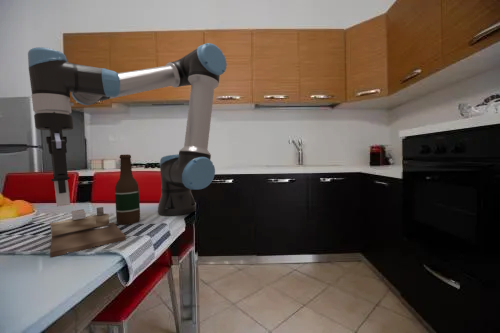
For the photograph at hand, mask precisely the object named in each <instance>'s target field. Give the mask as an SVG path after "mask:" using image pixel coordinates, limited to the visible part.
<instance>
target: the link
mask: <svg viewBox="0 0 500 333" xmlns="http://www.w3.org/2000/svg"><path fill="white" fill-rule="evenodd" d="M109 216H110V215H109V213H104V206H101V207H96V214H94V215H90V216H89V215H88V216H86V218H83V219H76V220H73V219H71V218H70V219H67V220H61V221H55V222H50V223H49V224H50V234H51V237H52V236H54V235H59V234H64V233H69V232H74V231H78V230H83V229H88V228H93V227H100V226H105V225H108V224H109V223H110V219H109V218H110V217H109Z"/></svg>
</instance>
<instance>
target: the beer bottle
mask: <svg viewBox="0 0 500 333" xmlns="http://www.w3.org/2000/svg"><path fill="white" fill-rule="evenodd" d="M118 158H119V160H120V164H119V167H120V168H119V170H120V171H119V172H120V173H119V179H118V180H117V182H116V184H115V187H114V188H115V189H114V199H115V214H116V216H115V218H116V224H117V225H119V226H120V225H121V226H128V225H133V224H137V223H139V222H140V221H141V207H140V206H141V204H140V189H139V188H140V187H139V183H138V182H137V180H136V179H135V178H134V175H133V170H132V162H131V161H132V159H131V158H132V155H131V154H120V155H119V157H118Z"/></svg>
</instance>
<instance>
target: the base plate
mask: <svg viewBox="0 0 500 333" xmlns="http://www.w3.org/2000/svg"><path fill="white" fill-rule="evenodd" d="M109 224H110V227H108V228H105V229H99V230H93V229H92V228H88V229H83V230H78V231H74V232H69V233H64V234H59V235H54V236H52V235H51V240H50V250H49V254H50V258H53V257H57V256H58V257H59V256H62V255H67V254H68V253H67V252H72V253H74V252H73V251H76V252H80V250H81V251H85V250H89V249H92V248H91V247H94V248H96V247H95V246H98V247H101V246H100V245H103V246H105V245H104V244H107V245H110V244H109V243H112V244H115V243H114V242H116V243H119V242H118V241H120V242H124V240H125V241H126V234H124V232H123V231H121V229H120V228H119V227H118V226H117V225H116V223H115V222H114V221H113V222H109ZM66 253H67V254H66Z"/></svg>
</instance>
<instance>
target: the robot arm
mask: <svg viewBox="0 0 500 333" xmlns="http://www.w3.org/2000/svg"><path fill="white" fill-rule="evenodd" d="M226 59H227V58H226V56H225V55H224V53H223V51H222V50H221V48H219V47H218V46H217V45H216V44H214V43H211V42H206V43H204V44H201V45H199V46H197V48H195V49H193V50H191V52H189V53H187V54H186V55H183V57H181V58H179V59H177V60H175V61H170V62H167V63H166V64H165V65H162V66H156V67H149V68H144V69H143V68H142V69H137V70H131V71H122V72H116V71H114V70H112V69H107V68H105V67H103V68H101V67H94V66H89V65H83V64H79V63H78V64H77V63H73V62H69V61H68V59H67V56H66V55H65V53H63V52H62V51H60V50H55V49H54V48H50V47H49V48H48V47H42V46H41V47H32V48H30V49H29V50H28V52H27V61H28V73H29V74H28V75H29V82H30V88H31V103H32V111H33V112H34V113H35V114H33V117H34V125H35V126H34V127H35V129H37V130H38V131H48V132H49V136H46V137H45V140H46V144H47V146H48V148H47V149H48V154H50V155H51V165H52V172H53V173H52V177H53V178H51V179H50V181H51V182H54V183H53V184H54V191H55V194H54V195H55V202H56V207H64V206H70V205H71V198H70V189H69V182H68V180H70V179H71V177H70V176H69V174H68V165H67V164H68V163H67V153H68V151H67V143H68V140H67V136H63V131H71V130H73V129H74V122H73V120H74V119H73V116H72V115H71V114H72V107H74V105H75V104H74V101H75V102H77V103H78V104H80V105H83V106H91V105H94V104H96V103H98V102H103V101H107V100H110V99H117V98H120V97H125V96H129V95H134V94H139V93H144V92H148V91H153V90H157V89H162V88H168V87H172V88H175V89H176V88H180V87H187V86H190V93H189V94H190V95H189V103H188V112H187V121H186V125H185V127H186V129H185V135H184V136H185V137H184V144H183V147H182V148H181V149H179V151H178V153H177V154H169V155H163V157H161V158H160V161H159V162H160V163H159V168H160V170H159V172H160V185H161V195H160V199H159V202H158V205H157V214H158V215H160V216H167V217H168V216H171V217H172V216H182V215H187V214H191V213H193V212H195V211H197V204H196V201H195V199H194V196H193V193H192V190H202V189H206V188H207V187H208V186H210V184H211V183H212V181H213V180H214V178H215V174H216V169H215V165H214V164H213V161H212V160H211V158H212V154H211V152H209V149H208V146H209V138H210V131H211V121H212V120H211V119H212V112H213V102H214V92H215V89H216V88H218V87H219V85H220V84H219V83H220V76H222V75H223V74H224V73H225V72H226V69H227V66H228V64H227V60H226ZM71 97H72V99H73V100H74V101H73V102H72V101H71Z"/></svg>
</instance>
